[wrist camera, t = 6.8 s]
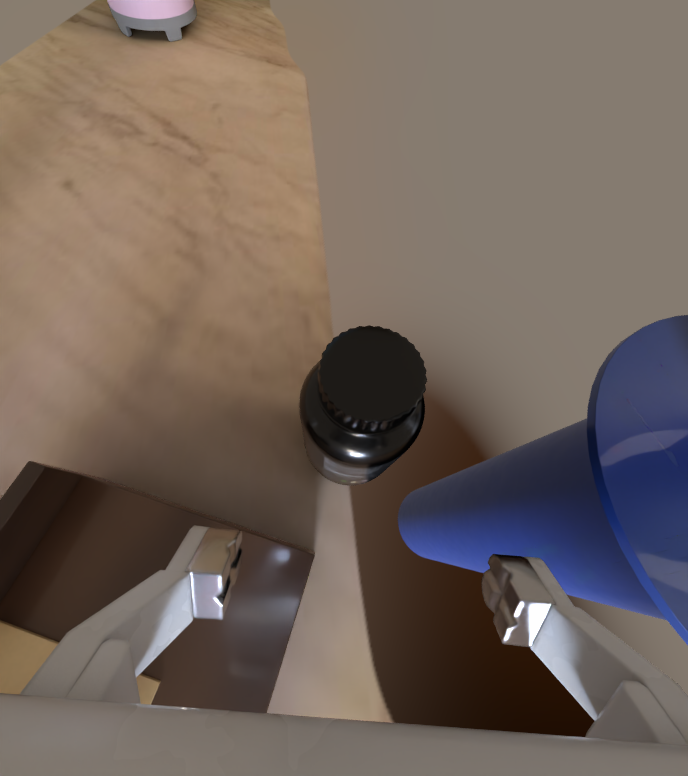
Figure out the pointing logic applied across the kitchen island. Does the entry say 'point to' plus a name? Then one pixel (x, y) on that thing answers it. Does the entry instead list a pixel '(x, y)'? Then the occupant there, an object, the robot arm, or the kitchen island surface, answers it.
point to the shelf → (125, 571)
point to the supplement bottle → (362, 404)
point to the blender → (153, 15)
